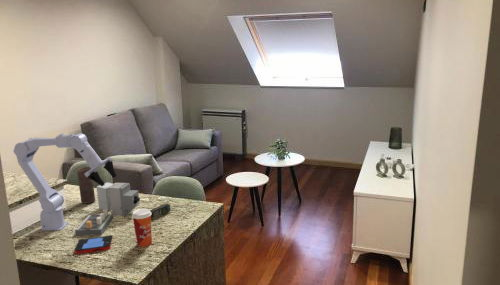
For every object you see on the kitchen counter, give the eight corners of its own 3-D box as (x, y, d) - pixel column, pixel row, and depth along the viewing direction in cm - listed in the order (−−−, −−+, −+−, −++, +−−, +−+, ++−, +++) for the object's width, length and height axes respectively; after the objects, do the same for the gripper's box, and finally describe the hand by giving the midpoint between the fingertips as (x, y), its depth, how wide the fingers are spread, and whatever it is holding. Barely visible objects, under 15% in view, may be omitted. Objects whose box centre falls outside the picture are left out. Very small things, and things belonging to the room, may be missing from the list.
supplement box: (119, 206, 217) (116, 184, 214) (107, 211, 211) (105, 188, 208) (110, 203, 221) (107, 181, 218) (98, 208, 215) (95, 186, 212)
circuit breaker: (136, 217, 203) (133, 189, 200) (110, 215, 206) (107, 187, 203) (143, 210, 211) (140, 183, 207) (118, 209, 213) (115, 182, 210)
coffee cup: (144, 250, 171) (141, 217, 167) (130, 245, 175) (127, 213, 171) (158, 241, 178) (155, 210, 174) (145, 237, 182) (142, 206, 178)
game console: (113, 237, 184) (112, 232, 183) (110, 251, 172) (109, 246, 171) (79, 241, 181) (78, 236, 180) (74, 255, 169) (73, 250, 168)
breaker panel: (75, 235, 186) (73, 224, 184) (89, 219, 202) (88, 209, 201) (101, 234, 186) (100, 223, 184) (113, 218, 202) (112, 208, 201)
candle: (92, 204, 220) (87, 169, 215) (78, 205, 220) (74, 170, 215) (97, 199, 227) (93, 165, 222) (84, 199, 228) (80, 165, 223)
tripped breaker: (86, 228, 186) (86, 222, 185) (88, 226, 188) (87, 220, 187) (90, 228, 186) (89, 222, 185) (92, 226, 188) (91, 220, 187)
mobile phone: (149, 212, 197) (172, 202, 208) (145, 211, 198) (168, 200, 210) (151, 222, 198) (173, 210, 210) (146, 220, 200) (169, 209, 211)
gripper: (82, 161, 176) (102, 186, 178) (106, 146, 187) (124, 170, 189) (75, 167, 180) (94, 191, 182) (99, 152, 191) (116, 175, 194)
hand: (109, 181), depth 186 cm, fingers open, 7 cm apart
